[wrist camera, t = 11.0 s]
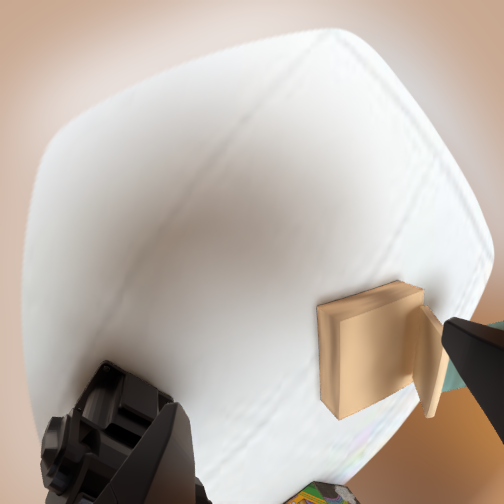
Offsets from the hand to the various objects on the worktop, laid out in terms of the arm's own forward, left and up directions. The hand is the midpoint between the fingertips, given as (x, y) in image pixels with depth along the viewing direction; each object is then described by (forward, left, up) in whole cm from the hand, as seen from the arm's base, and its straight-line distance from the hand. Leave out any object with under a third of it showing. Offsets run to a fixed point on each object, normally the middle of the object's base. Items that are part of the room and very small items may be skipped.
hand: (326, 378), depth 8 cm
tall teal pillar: (+4, -15, -7) cm, 17 cm away
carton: (+2, -14, -13) cm, 19 cm away
